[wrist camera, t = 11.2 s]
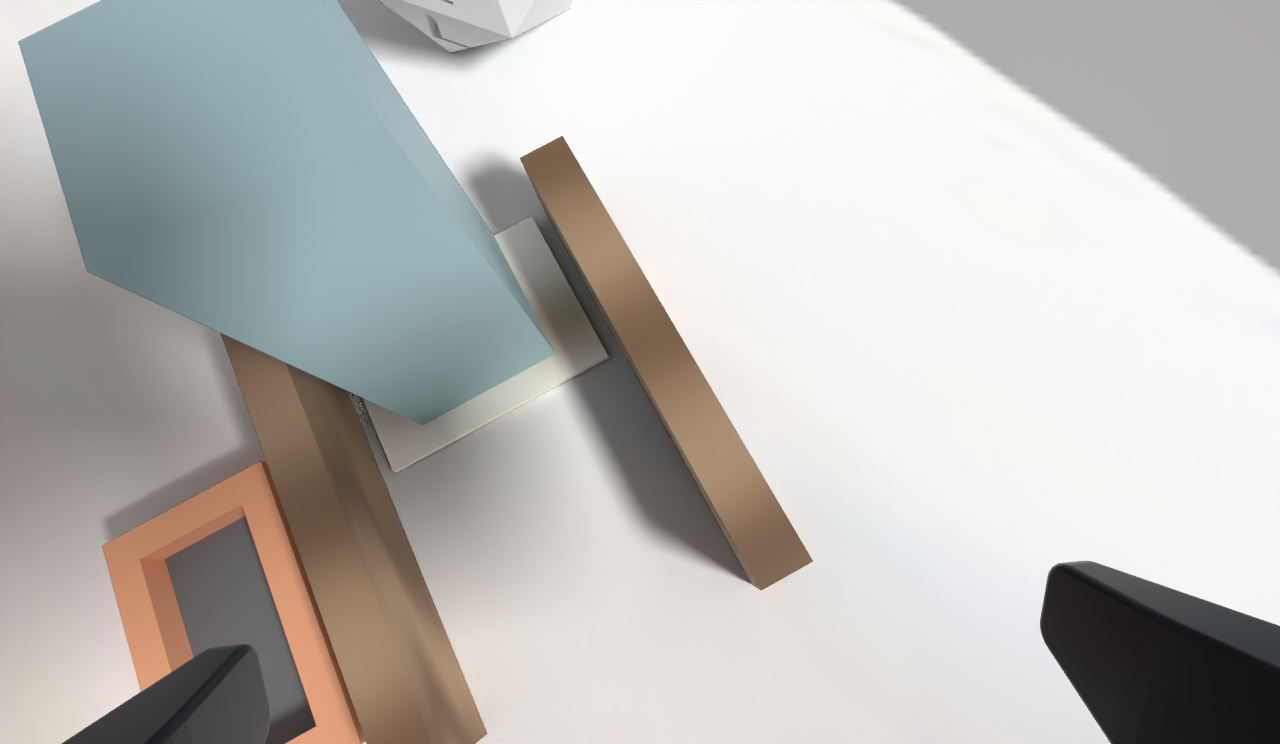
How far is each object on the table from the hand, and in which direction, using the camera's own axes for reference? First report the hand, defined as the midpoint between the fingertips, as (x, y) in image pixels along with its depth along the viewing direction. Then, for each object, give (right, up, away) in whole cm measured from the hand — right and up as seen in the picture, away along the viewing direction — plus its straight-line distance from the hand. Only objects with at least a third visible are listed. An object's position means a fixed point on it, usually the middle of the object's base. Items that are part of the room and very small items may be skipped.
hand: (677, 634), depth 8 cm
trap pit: (-13, -5, +14) cm, 19 cm away
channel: (-4, 0, +14) cm, 15 cm away
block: (-7, +4, +15) cm, 17 cm away
